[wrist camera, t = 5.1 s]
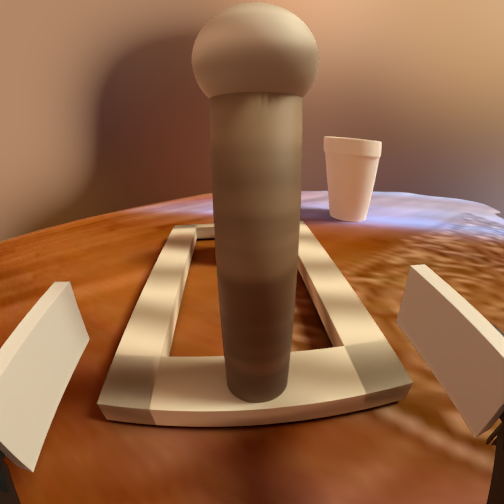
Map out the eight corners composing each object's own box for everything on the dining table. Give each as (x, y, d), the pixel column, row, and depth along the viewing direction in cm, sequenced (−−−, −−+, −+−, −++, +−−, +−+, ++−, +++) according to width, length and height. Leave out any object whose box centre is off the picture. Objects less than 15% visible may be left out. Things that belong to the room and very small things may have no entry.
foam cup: (378, 227, 42) (386, 143, 37) (320, 222, 44) (324, 136, 39) (369, 210, 51) (375, 140, 46) (321, 206, 53) (323, 135, 48)
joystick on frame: (405, 401, 14) (476, 41, 6) (105, 422, 13) (15, 35, 5) (302, 231, 40) (305, 93, 32) (175, 236, 38) (166, 96, 31)
